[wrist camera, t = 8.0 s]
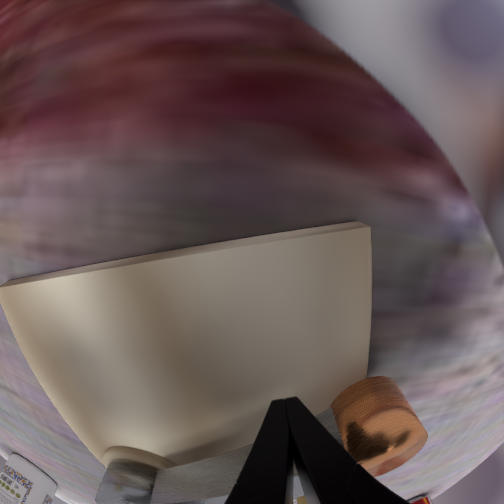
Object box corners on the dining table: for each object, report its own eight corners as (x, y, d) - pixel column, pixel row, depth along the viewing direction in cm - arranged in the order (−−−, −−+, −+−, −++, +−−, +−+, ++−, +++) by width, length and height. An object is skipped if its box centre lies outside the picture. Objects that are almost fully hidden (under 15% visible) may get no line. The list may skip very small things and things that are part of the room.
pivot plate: (124, 472, 13) (110, 519, 8) (8, 280, 9) (-55, 320, 4) (344, 464, 12) (360, 518, 8) (357, 221, 8) (443, 261, 4)
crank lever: (150, 497, 11) (143, 528, 8) (94, 465, 10) (81, 497, 7) (408, 407, 9) (434, 451, 6) (377, 349, 8) (415, 405, 5)
